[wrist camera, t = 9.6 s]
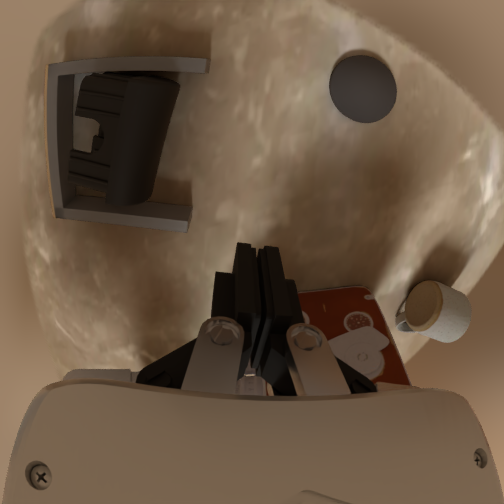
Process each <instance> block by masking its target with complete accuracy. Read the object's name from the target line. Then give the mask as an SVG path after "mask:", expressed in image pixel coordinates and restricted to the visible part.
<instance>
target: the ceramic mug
mask: <svg viewBox="0 0 504 504" xmlns="http://www.w3.org/2000/svg"><path fill="white" fill-rule="evenodd" d="M405 321H406V322H407V323H403V322H405ZM470 321H471V304H470V302H469V300H468V298H467V297H466V296H465V294H463V293H462V292H460V291H457V290H455V289H453V288H451V287H448V286H446V285H444V284H442V283H440V282H437V281H431V280H428V281H423V282H421V283H419V284H418V285H416V286H415V287H414V288H413V290H412V291H411V292H410V294H409V296H408V298H407V300H406V304H405V312H402V313H400V314H399V315H398V316H397V317H396V329H397V330H399V331H401V332H406V333H415V332H417V333H419V334H421V335H424V336H428V337H431V338H433V339H436V340H439V341H441V342H453V341H455V340H457V339H458V338H460V337H461V336H462V335H463V334H464V333H465V331H466V330H467V328H468V326H469V323H470Z"/></svg>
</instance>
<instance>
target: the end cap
mask: <svg viewBox="0 0 504 504" xmlns="http://www.w3.org/2000/svg"><path fill="white" fill-rule="evenodd" d="M179 90H180V84H179V83H178V82H176V81H174V80H171V79H167V78H164V77H160V76H155V75H149V76H141V77H138V76H132V75H127V74H121V73H113V72H107V71H106V72H104V73H103V74H99V73H92V74H91V75H89V76H85V77H84V79H83V80H82V83H81V86H80V91H79V96H78V101H77V107H76V112H75V116H81V117H86V118H91V119H94V120H96V121H97V122H98V123H99V124H100V128H99V134H98V136H96V135H95V136H94V137H93V143H92V150H91V153H88V152H83V151H79V150H74V149H72V150H71V151H70V156H69V167H68V183H71V184H75V185H79V186H83V187H86V188H90V189H94V190H97V191H101V192H105V193H106V201H105V204H108V205H112V206H133V205H138V204H141V203H143V202H145V201H146V200H148V199H149V198H150V197H151V194H152V191H153V187H154V182H155V178H156V173H157V169H158V165H159V161H160V157H161V153H162V149H163V145H164V141H165V137H166V134H167V130H168V126H169V123H170V119H171V116H172V112H173V109H174V106H175V103H176V99H177V96H178V93H179Z"/></svg>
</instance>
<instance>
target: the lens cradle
mask: <svg viewBox="0 0 504 504" xmlns="http://www.w3.org/2000/svg"><path fill="white" fill-rule="evenodd" d="M210 61H211V60H209V59H203V58H189V57H166V56H131V57H109V58H96V59H85V60H76V61H68V62H61V63H55V64H48V65H46V71H45V90H44V131H45V151H46V164H47V174H48V183H49V192H50V199H51V206H52V212H53V218H62V219H71V220H80V221H89V222H98V223H107V224H116V225H124V226H133V227H142V228H150V229H159V230H167V231H175V232H184V233H187V232H188V228H189V225H190V221H191V218H192V207H190V206H182V205H173V204H164V203H154V202H143V203H141V204H138V205H133V206H112V205H108V204H105V201H106V198H103V197H91V196H79V195H76V188H75V184H71V183H68V167H69V156H70V151H71V150H72V149H73V88H74V74H78V73H89V72H104V71H178V72H193V73H209V67H210Z"/></svg>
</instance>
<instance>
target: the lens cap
mask: <svg viewBox="0 0 504 504" xmlns="http://www.w3.org/2000/svg"><path fill="white" fill-rule="evenodd" d="M329 89H330V95H331V98H332V101H333V102H334V104H335V106H336V107H337V109H338V110H339V111H340V112H341V113H342V114H343V115H345V116H346V117H348V118H350V119H352V120H354V121H357V122H361V123H371V122H376V121H378V120H380V119H382V118H384V117H385V116H386V115H387V114H388V113H389V112H390V111H391V109H392V108H393V106H394V103H395V100H396V94H397V89H396V83H395V80H394V77H393V75H392V73H391V72H390V70H389V69H388V68H387V67H386V66H385V65H384V64H383V63H382V62H380V61H379V60H377V59H375V58H372V57H369V56H352V57H349V58H346V59H344V60H343V61H341V62H340V63H339V64H338V65H337V66H336V67H335V69H334V70H333V72H332V74H331V78H330V83H329Z"/></svg>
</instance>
